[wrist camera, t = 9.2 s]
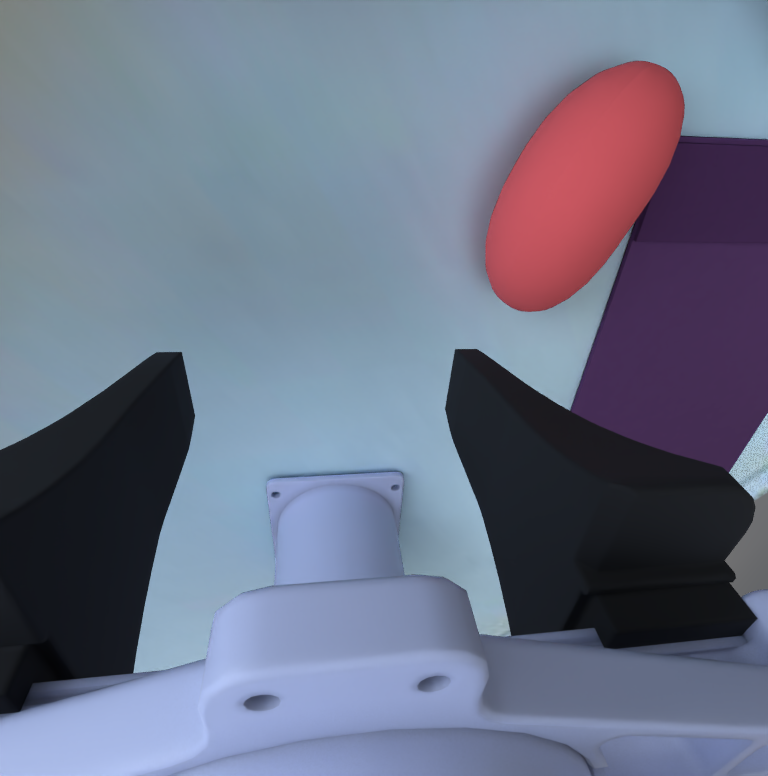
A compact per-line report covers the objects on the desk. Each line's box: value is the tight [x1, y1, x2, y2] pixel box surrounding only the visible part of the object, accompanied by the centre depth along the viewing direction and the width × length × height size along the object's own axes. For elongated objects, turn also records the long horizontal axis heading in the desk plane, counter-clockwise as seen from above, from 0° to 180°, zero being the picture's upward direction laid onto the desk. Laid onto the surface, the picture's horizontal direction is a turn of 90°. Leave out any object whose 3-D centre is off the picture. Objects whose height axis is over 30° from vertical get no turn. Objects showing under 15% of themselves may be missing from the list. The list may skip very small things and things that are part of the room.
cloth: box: [571, 136, 768, 473], centre depth 26 cm, size 20×13×1 cm, turn 177°
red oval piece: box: [485, 61, 685, 312], centre depth 18 cm, size 5×9×6 cm, turn 144°
